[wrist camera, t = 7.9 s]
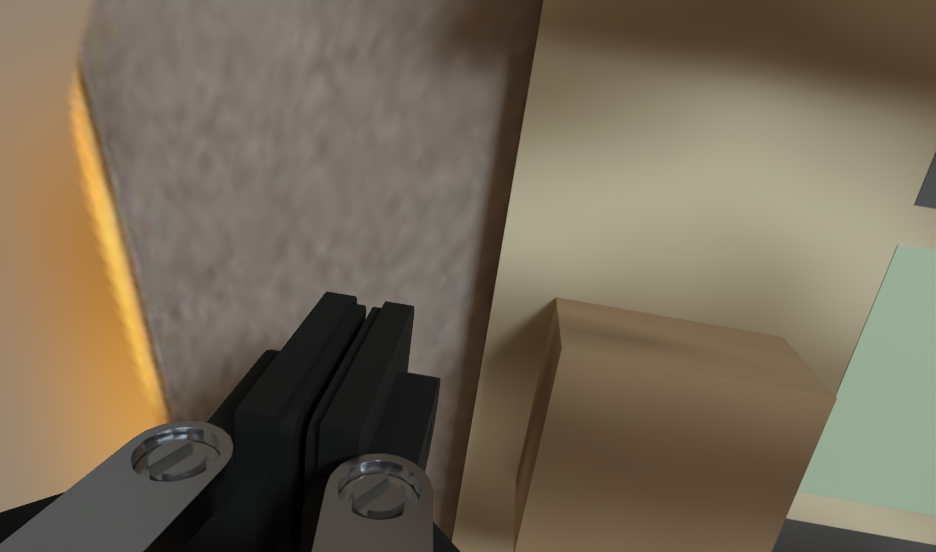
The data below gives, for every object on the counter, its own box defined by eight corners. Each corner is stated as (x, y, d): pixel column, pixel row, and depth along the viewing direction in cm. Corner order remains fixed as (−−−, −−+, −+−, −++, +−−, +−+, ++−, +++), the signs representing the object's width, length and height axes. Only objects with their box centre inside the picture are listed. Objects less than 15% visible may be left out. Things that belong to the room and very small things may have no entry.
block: (715, 516, 18) (749, 602, 15) (516, 479, 18) (513, 557, 15) (783, 337, 16) (837, 397, 13) (556, 297, 16) (561, 348, 13)
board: (926, 696, 21) (1013, 835, 17) (440, 605, 22) (422, 720, 18) (1338, 4, 13) (1659, -16, 9) (561, -106, 14) (573, -165, 10)
